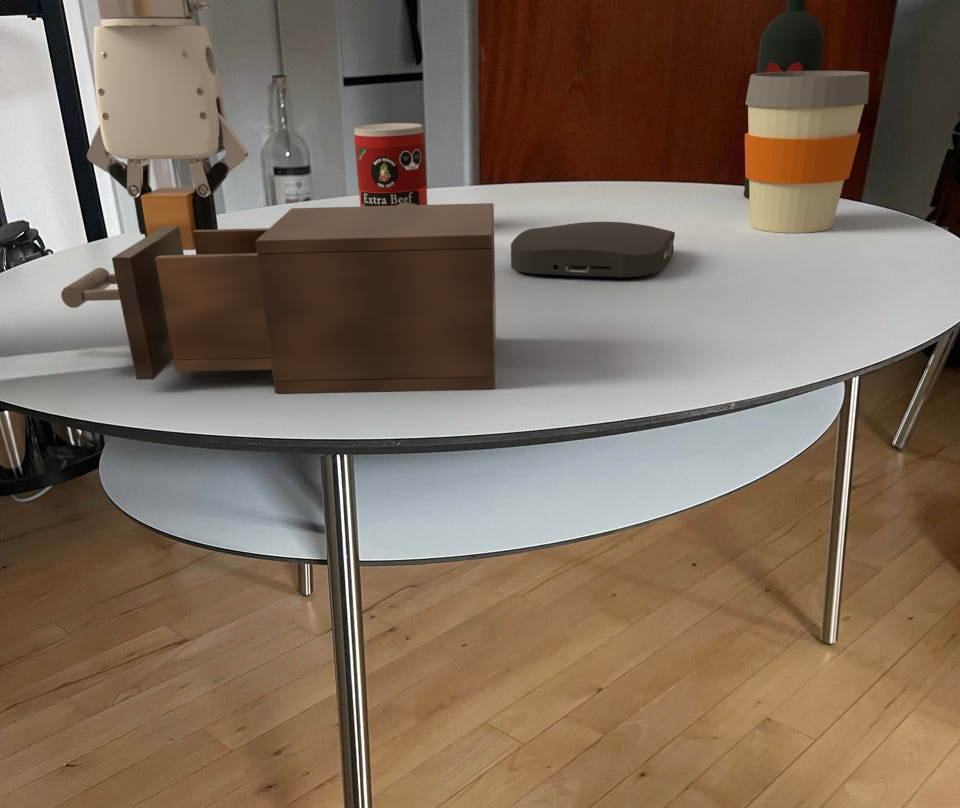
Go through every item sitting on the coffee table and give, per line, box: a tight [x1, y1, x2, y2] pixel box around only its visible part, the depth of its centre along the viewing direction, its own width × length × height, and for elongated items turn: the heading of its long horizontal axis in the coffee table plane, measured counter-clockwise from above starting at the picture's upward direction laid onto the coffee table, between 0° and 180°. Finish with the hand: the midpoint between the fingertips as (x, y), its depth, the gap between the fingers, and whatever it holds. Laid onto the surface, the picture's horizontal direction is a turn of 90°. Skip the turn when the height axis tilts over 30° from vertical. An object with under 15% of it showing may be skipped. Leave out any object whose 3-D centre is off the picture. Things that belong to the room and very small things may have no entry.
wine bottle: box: [743, 0, 826, 199], centre depth 125 cm, size 8×10×30 cm
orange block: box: [141, 186, 196, 251], centre depth 92 cm, size 6×4×4 cm, turn 179°
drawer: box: [60, 226, 272, 381], centre depth 71 cm, size 18×11×8 cm, turn 89°
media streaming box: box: [510, 221, 676, 279], centre depth 100 cm, size 15×15×3 cm
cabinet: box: [255, 202, 497, 394], centre depth 71 cm, size 15×13×10 cm
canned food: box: [353, 122, 428, 207], centre depth 116 cm, size 8×8×11 cm
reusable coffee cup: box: [744, 70, 870, 234], centre depth 111 cm, size 13×13×15 cm
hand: (180, 240), depth 93 cm, fingers closed on orange block, 4 cm apart
